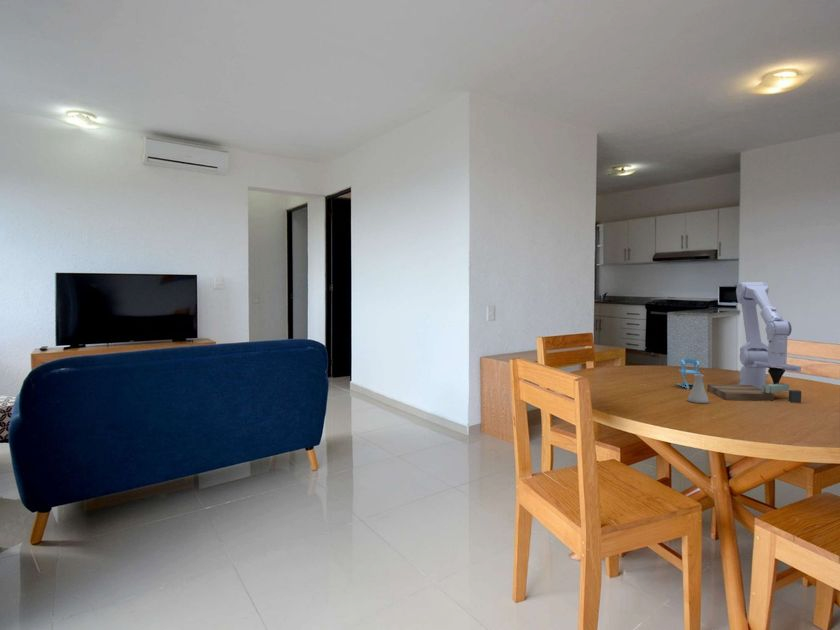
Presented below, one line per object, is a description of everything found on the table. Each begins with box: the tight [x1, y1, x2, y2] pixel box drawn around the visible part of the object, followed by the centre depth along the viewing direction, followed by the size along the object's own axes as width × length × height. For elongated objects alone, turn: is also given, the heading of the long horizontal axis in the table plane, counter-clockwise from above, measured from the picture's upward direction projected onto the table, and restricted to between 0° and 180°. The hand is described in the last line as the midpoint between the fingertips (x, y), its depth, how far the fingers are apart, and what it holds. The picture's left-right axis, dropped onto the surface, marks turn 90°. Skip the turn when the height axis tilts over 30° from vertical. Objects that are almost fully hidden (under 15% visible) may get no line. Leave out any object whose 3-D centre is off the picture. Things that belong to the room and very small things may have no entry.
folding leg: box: [761, 382, 790, 394], centre depth 179 cm, size 11×3×2 cm, turn 108°
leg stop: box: [788, 389, 802, 403], centre depth 174 cm, size 2×3×4 cm, turn 82°
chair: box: [676, 358, 701, 390], centre depth 200 cm, size 8×8×12 cm
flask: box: [687, 373, 710, 404], centre depth 177 cm, size 7×7×10 cm
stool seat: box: [707, 383, 775, 402], centre depth 186 cm, size 16×16×2 cm
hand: (776, 387), depth 183 cm, fingers closed
